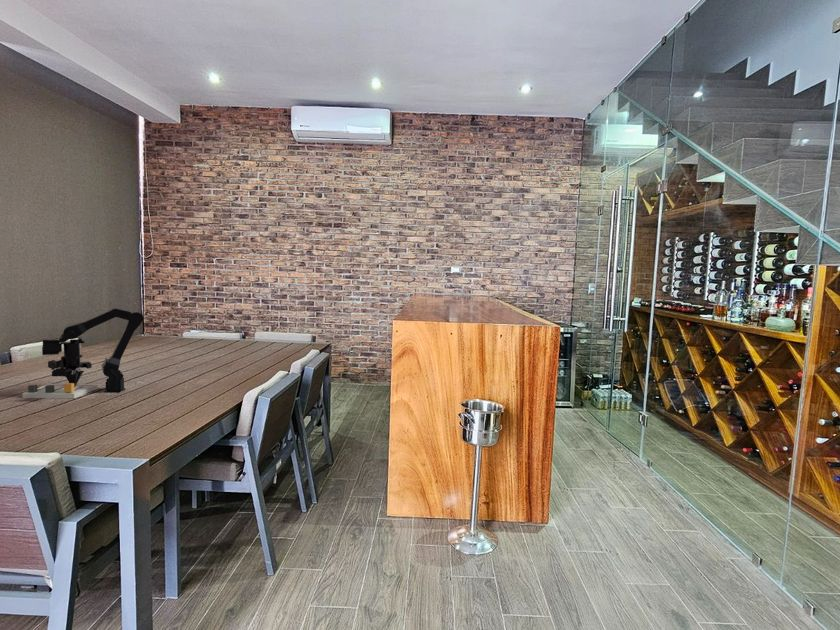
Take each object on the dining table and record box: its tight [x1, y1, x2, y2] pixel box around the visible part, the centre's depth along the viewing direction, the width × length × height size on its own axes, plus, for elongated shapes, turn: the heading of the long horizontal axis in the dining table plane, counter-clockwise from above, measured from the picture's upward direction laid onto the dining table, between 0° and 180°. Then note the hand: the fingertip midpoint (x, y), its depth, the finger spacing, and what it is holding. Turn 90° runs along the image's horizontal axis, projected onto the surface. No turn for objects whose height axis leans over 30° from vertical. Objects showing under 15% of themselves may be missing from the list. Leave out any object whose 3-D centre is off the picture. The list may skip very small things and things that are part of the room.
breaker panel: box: [22, 383, 98, 399], centre depth 209 cm, size 21×17×5 cm
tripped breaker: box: [63, 382, 74, 392], centre depth 203 cm, size 3×2×4 cm, turn 96°
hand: (73, 387), depth 206 cm, fingers closed
